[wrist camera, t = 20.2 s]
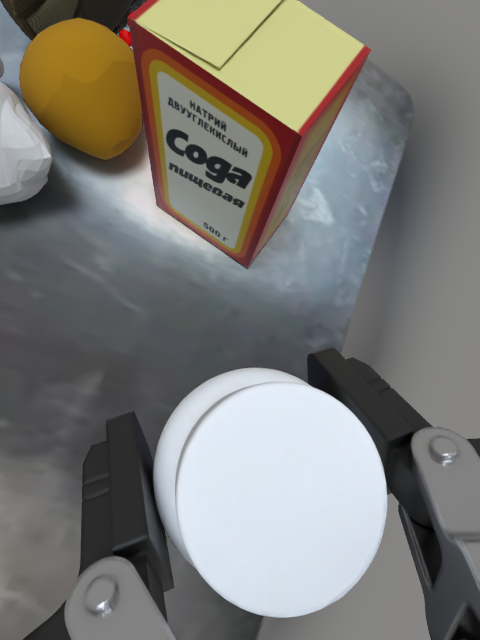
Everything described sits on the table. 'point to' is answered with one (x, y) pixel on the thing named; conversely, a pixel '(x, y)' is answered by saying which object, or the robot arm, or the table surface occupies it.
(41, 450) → the table surface
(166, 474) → the pill bottle
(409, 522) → the robot arm
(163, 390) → the table surface
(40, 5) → the sandal
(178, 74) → the baking soda box
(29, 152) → the toy
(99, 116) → the apple
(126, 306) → the table surface
